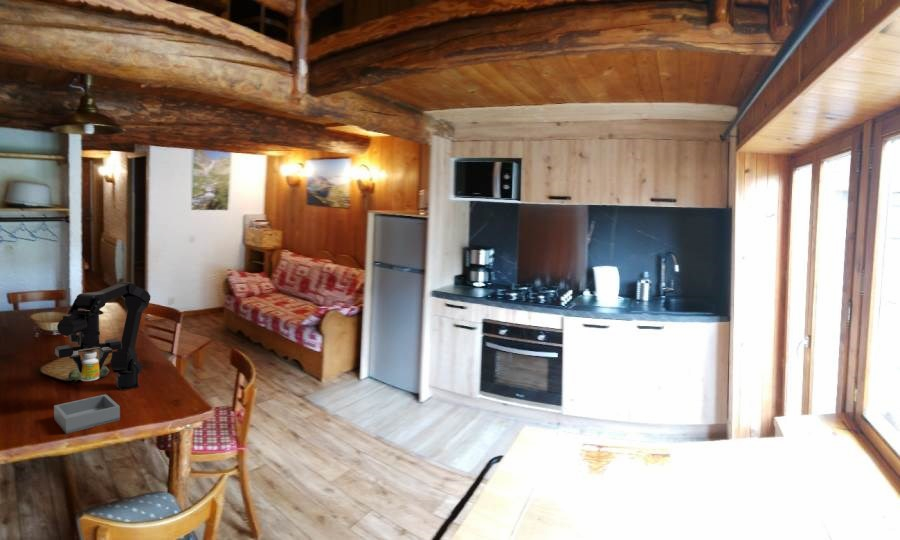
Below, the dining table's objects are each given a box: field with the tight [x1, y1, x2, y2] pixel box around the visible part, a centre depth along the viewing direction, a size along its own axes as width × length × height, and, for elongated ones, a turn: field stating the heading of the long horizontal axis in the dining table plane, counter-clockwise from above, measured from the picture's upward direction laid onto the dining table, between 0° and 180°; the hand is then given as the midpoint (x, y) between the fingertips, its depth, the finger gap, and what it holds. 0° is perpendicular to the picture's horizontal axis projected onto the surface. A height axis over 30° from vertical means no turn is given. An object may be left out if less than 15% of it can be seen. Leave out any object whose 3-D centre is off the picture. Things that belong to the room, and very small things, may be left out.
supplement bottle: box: [80, 350, 100, 382], centre depth 175 cm, size 5×5×10 cm
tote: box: [53, 394, 121, 435], centre depth 166 cm, size 15×14×5 cm
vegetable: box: [68, 365, 111, 381], centre depth 200 cm, size 14×5×5 cm, turn 132°
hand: (90, 370), depth 175 cm, fingers closed on supplement bottle, 5 cm apart
